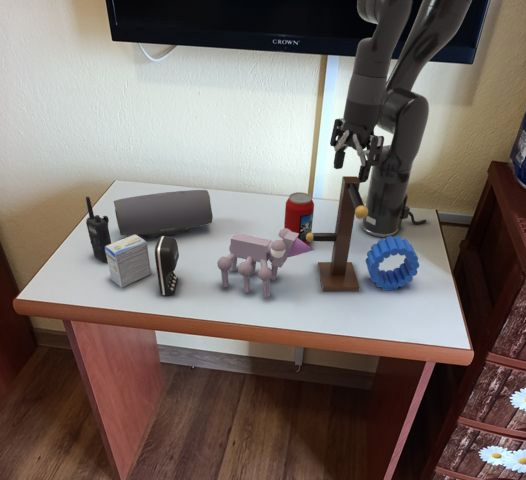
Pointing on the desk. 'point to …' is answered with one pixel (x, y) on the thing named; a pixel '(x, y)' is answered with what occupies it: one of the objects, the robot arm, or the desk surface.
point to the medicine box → (128, 260)
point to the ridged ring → (398, 275)
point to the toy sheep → (260, 256)
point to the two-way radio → (98, 232)
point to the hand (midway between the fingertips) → (349, 174)
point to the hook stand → (341, 239)
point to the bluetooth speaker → (163, 212)
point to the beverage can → (299, 214)
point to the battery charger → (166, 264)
